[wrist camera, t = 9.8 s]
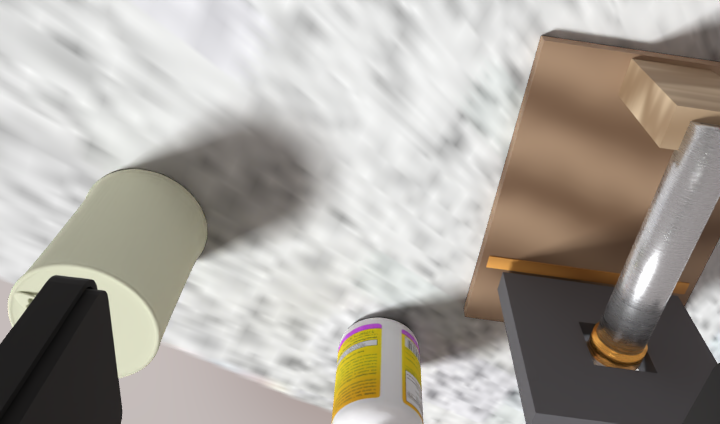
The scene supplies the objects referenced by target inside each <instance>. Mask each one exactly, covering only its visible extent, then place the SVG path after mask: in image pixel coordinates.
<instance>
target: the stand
mask: <svg viewBox="0 0 720 424" xmlns="http://www.w3.org/2000/svg"><path fill="white" fill-rule="evenodd" d="M690 121H694V122H701V123H708V124H715V125H720V62H716V61H709V60H702V59H696V58H689V57H682V56H676V55H669V54H662V53H655V52H649V51H642V50H635V49H628V48H622V47H615V46H608V45H602V44H595V43H588V42H581V41H575V40H568V39H561V38H554V37H548V36H541V37H540V41H539V44H538V48H537V52H536V55H535V59H534V62H533V66H532V69H531V73H530V76H529V80H528V83H527V87H526V90H525V94H524V97H523V101H522V104H521V108H520V112H519V115H518V119H517V122H516V126H515V129H514V133H513V136H512V140H511V143H510V147H509V150H508V154H507V157H506V161H505V164H504V168H503V172H502V175H501V179H500V182H499V186H498V189H497V193H496V196H495V200H494V203H493V207H492V210H491V214H490V217H489V221H488V224H487V228H486V232H485V235H484V239H483V242H482V246H481V249H480V253H479V256H478V260H477V263H476V267H475V270H474V274H473V277H472V281H471V284H470V288H469V292H468V295H467V299H466V302H465V306H464V314H465V317H471V318H478V319H485V320H493V321H500V322H504V318H503V313H502V308H501V304H500V299H499V294H498V290H497V289H498V286H499V282H500V279H501V276H502V273H503V272H507V273H514V274H522V275H529V276H536V277H543V278H551V279H558V280H565V281H573V282H580V283H587V284H594V285H602V286H609V287H615V285H616V283H617V281H618V279H619V276H620V274H621V272H622V269H623V267H624V265H625V262H626V260H627V258H628V255H629V253H630V251H631V248H632V246H633V244H634V242H635V239H636V237H637V235H638V232H639V230H640V228H641V225H642V223H643V221H644V218H645V216H646V214H647V211H648V209H649V207H650V205H651V202H652V200H653V198H654V195H655V193H656V191H657V188H658V186H659V184H660V181H661V179H662V177H663V175H664V172H665V170H666V168H667V165H668V163H669V161H670V158H671V156H672V154H673V151H674V150H678V149H679V147H680V144H681V142H682V140H683V137H684V135H685V133H686V131H687V128H688V126H689V124H690ZM719 238H720V197H719V199H718V201H717V203H716V205H715V207H714V209H713V211H712V213H711V215H710V217H709V219H708V221H707V223H706V225H705V227H704V229H703V231H702V233H701V235H700V237H699V239H698V241H697V243H696V245H695V247H694V249H693V251H692V253H691V255H690V258H689V260H688V262H687V264H686V266H685V268H684V270H683V272H682V274H681V276H680V278H679V280H678V282H677V284H676V286H675V288H674V290H673V292H672V294H671V295H675V296H678V297H679V299H680V300H681V302H682V304H683V305H684V306H685V304H686V302H687V300H688V298H689V296H690V294H691V292H692V290H693V289H694V287H695V285H696V283H697V281H698V279H699V277H700V275H701V273H702V271H703V269H704V267H705V265H706V263H707V261H708V259H709V257H710V256H711V254H712V252H713V250H714V248H715V246H716V244H717V242H718V240H719ZM587 342H588V341H586V344H587Z"/></svg>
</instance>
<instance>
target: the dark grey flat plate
mask: <svg viewBox="0 0 720 424" xmlns="http://www.w3.org/2000/svg"><path fill="white" fill-rule="evenodd" d="M614 288H615V287H609V286H602V285H594V284H587V283H580V282H573V281H565V280H558V279H551V278H543V277H536V276H529V275H522V274H514V273H507V272H503V273H502V276H501V279H500V282H499V286H498V289H497V290H498V294H499V299H500V304H501V308H502V313H503V318H504V322H505V327H506V332H507V336H508V341H509V346H510V351H511V355H512V360H513V365H514V369H515V374H516V379H517V383H518V388H519V393H520V397H521V402H522V407H523V411H524V416H525V421H526V424H682V423H683V422H684V420H685V418H686V416H687V415H688V413H689V411H690V409H691V407H692V406H693V404H694V402H695V400H696V398H697V397H698V395H699V393H700V391H701V389H702V388H703V386H704V384H705V382H706V380H707V379H708V377H709V375H710V373H711V372H712V370H713V368H714V367H715V366H716V365H717V362H716V360H715V359H714V357H713V355H712V353H711V352H710V350H709V348H708V347H707V345H706V343H705V341H704V340H703V338H702V336H701V335H700V333H699V331H698V329H697V328H696V326H695V324H694V323H693V321H692V319H691V317H690V316H689V314H688V312H687V311H686V309H685V307H684V305H683V304H682V302H681V300H680V299H679V297H678V296H675V295H671V296H670V298H669V300H668V302H667V304H666V306H665V308H664V310H663V312H662V314H661V316H660V318H659V320H658V322H657V324H656V326H655V328H654V330H653V332H652V334H651V336H650V338H649V340H648V342H647V346H648V350H647V352H646V354H645V356H644V358H643V360H642V362H641V364H640V366H639V368H638V369H639V371H636V370H629V369H621V368H614V367H606V366H599V365H594V363H593V360H592V357H591V355H590V352H589V349H588V346H587V344H586V341H588V340H589V337H590V335H591V333H592V330H593V328H594V326H595V325H596V324H597V323H598V322H600V320H601V318H602V315H603V313H604V311H605V309H606V306H607V304H608V302H609V299H610V297H611V295H612V292H613V290H614Z"/></svg>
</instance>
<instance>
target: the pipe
mask: <svg viewBox="0 0 720 424" xmlns="http://www.w3.org/2000/svg"><path fill="white" fill-rule="evenodd" d="M719 197H720V125H715V124H708V123H701V122H694V121H690V124H689V126H688V128H687V131H686V133H685V135H684V137H683V140H682V142H681V144H680V147H679V149H678V150H674V151H673V154H672V156H671V158H670V161H669V163H668V165H667V168H666V170H665V172H664V175H663V177H662V179H661V181H660V184H659V186H658V188H657V191H656V193H655V195H654V198H653V200H652V202H651V205H650V207H649V209H648V211H647V214H646V216H645V218H644V221H643V223H642V225H641V228H640V230H639V232H638V235H637V237H636V239H635V242H634V244H633V246H632V248H631V251H630V253H629V255H628V258H627V260H626V262H625V265H624V267H623V269H622V272H621V274H620V276H619V279H618V281H617V283H616V285H615V288H614V290H613V292H612V295H611V297H610V299H609V302H608V304H607V306H606V309H605V311H604V313H603V315H602V318H601V320H600V322H598V323H597V324H596V325H595V326H594V328H593V330H592V333H591V335H590V337H589V340H588V342H587V346H588V349H589V352H590V355H591V357H592V360H593V363H594V365H599V366H606V367H614V368H621V369H629V370H636V369H638V368H639V366H640V364H641V362H642V360H643V358H644V356H645V354H646V352H647V350H648V346H647V342H648V340H649V338H650V336H651V334H652V332H653V330H654V328H655V326H656V324H657V322H658V320H659V318H660V316H661V314H662V312H663V310H664V308H665V306H666V304H667V302H668V300H669V298H670V296H671V294H672V292H673V290H674V288H675V286H676V284H677V282H678V280H679V278H680V276H681V274H682V272H683V270H684V268H685V266H686V264H687V262H688V260H689V258H690V255H691V253H692V251H693V249H694V247H695V245H696V243H697V241H698V239H699V237H700V235H701V233H702V231H703V229H704V227H705V225H706V223H707V221H708V219H709V217H710V215H711V213H712V211H713V209H714V207H715V205H716V203H717V201H718V199H719Z"/></svg>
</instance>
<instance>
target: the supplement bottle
mask: <svg viewBox="0 0 720 424" xmlns="http://www.w3.org/2000/svg"><path fill="white" fill-rule="evenodd" d="M332 424H424V423H423V407H422V387H421V368H420V352H419V345H418V341H417V339H416V337H415V335H414V334H413V333H412V331H411V330H410V329H409V328H407V327H406V326H405V325H403V324H401V323H400V322H397V321H395V320H391V319H387V318H369V319H365V320H362V321H359V322H357V323H355V324H354V325H352V326H351V327H350V328H348V329H347V330H346V332H345V333H344V334H343V336H342V338H341V340H340V344H339V350H338V360H337V371H336V381H335V392H334V403H333V413H332Z"/></svg>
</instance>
